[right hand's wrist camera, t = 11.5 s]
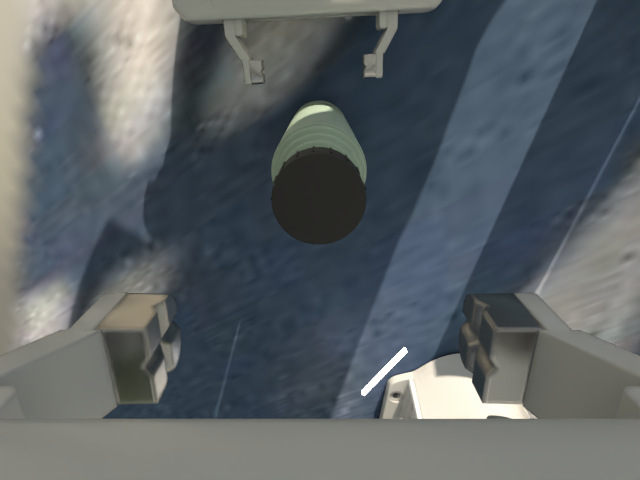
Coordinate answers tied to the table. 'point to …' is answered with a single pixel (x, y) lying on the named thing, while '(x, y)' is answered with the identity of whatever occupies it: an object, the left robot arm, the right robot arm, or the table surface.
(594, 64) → the table surface
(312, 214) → the cap
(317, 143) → the bottle
